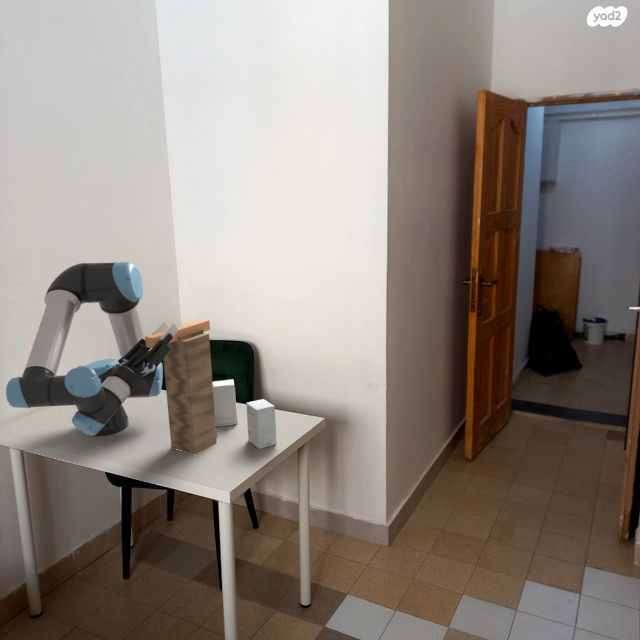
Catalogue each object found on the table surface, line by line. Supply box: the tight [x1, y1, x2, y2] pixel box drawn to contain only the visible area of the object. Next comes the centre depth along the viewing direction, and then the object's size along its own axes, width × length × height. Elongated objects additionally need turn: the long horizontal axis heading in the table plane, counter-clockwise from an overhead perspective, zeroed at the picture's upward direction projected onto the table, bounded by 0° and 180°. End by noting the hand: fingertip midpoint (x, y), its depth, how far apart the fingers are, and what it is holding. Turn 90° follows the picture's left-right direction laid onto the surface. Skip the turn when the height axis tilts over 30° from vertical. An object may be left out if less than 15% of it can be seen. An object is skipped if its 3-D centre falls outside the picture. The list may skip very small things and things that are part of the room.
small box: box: [246, 398, 277, 449], centre depth 189 cm, size 8×6×13 cm
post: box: [163, 329, 218, 455], centre depth 186 cm, size 10×10×37 cm
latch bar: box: [144, 319, 211, 349], centre depth 179 cm, size 3×24×3 cm, turn 149°
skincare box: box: [212, 378, 239, 427], centre depth 206 cm, size 8×6×15 cm
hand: (170, 326), depth 176 cm, fingers closed on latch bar, 3 cm apart
